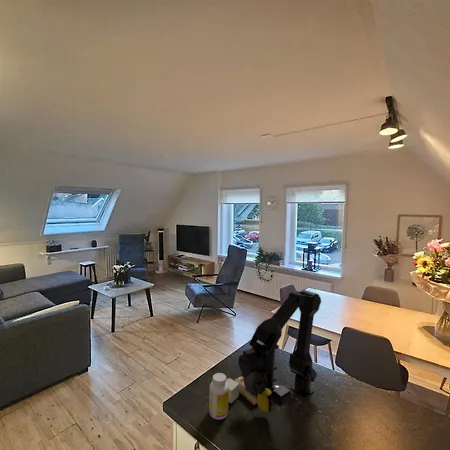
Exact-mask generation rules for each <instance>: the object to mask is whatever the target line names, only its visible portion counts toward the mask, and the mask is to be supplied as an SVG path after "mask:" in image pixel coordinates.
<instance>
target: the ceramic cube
mask: <svg viewBox="0 0 450 450" xmlns="http://www.w3.org/2000/svg"><path fill="white" fill-rule="evenodd" d="M226 382H227V384H228V386H229V396H228V403H230V404H232V403H233V402H235V400H237V399H238V397H240V392H239V383H238V382H236V381H235V379H234V380H233V379H232V378H230V377H229V378H226Z"/></svg>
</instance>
